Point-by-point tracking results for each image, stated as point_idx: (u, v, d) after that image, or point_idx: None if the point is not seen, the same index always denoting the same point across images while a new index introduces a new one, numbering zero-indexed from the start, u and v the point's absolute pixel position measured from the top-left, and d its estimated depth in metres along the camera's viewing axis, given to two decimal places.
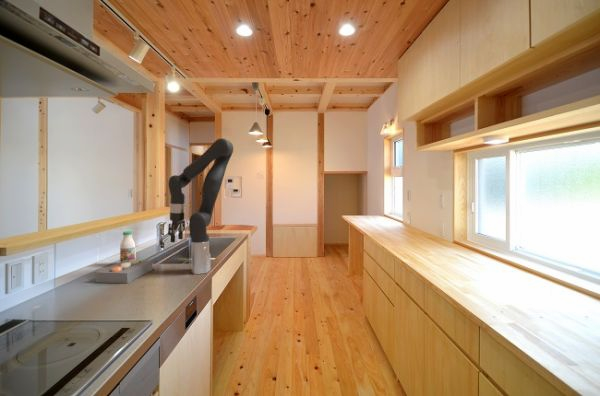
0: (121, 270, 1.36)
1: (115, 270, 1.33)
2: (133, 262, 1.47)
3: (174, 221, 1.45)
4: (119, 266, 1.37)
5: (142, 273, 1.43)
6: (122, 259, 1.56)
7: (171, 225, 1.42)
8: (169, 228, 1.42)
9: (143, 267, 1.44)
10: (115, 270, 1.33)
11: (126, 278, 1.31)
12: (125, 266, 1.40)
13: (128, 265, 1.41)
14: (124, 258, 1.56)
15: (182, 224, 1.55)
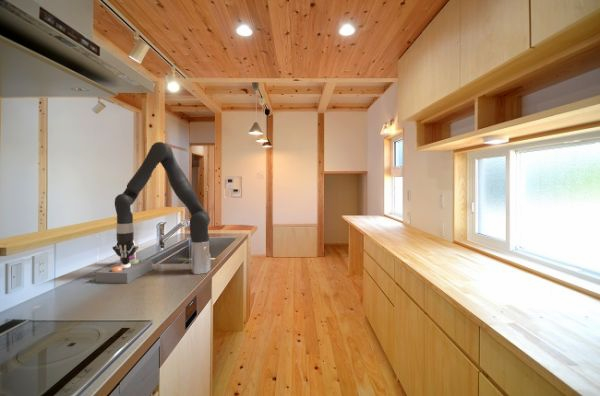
0: (121, 270, 1.36)
1: (115, 270, 1.33)
2: (133, 262, 1.47)
3: (132, 240, 1.42)
4: (119, 266, 1.37)
5: (142, 273, 1.43)
6: None
7: (136, 248, 1.42)
8: (133, 251, 1.41)
9: (143, 267, 1.44)
10: (115, 270, 1.33)
11: (126, 278, 1.31)
12: (125, 267, 1.40)
13: (128, 266, 1.41)
14: None
15: (118, 248, 1.42)
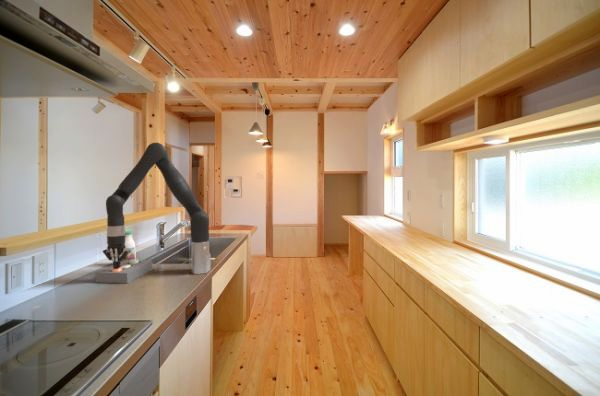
0: None
1: (115, 271, 1.33)
2: (133, 262, 1.47)
3: (124, 244, 1.35)
4: None
5: (142, 273, 1.43)
6: None
7: (128, 252, 1.35)
8: (125, 255, 1.34)
9: (143, 267, 1.44)
10: None
11: (126, 278, 1.31)
12: None
13: None
14: None
15: (109, 252, 1.36)
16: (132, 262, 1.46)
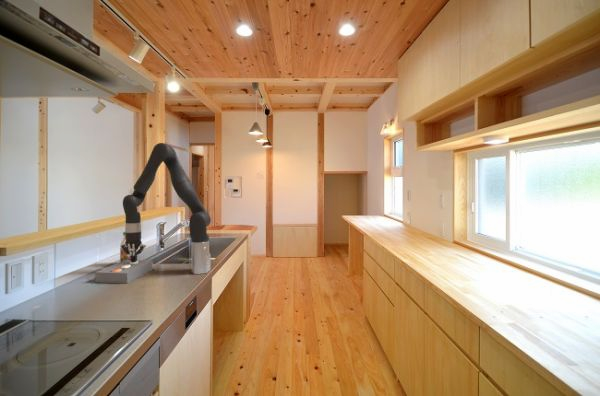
0: None
1: None
2: None
3: (140, 239, 1.48)
4: (119, 269, 1.37)
5: (142, 273, 1.43)
6: (122, 259, 1.56)
7: (144, 247, 1.48)
8: (141, 250, 1.47)
9: (143, 267, 1.44)
10: None
11: (126, 278, 1.31)
12: None
13: None
14: (124, 258, 1.56)
15: (127, 247, 1.49)
16: None
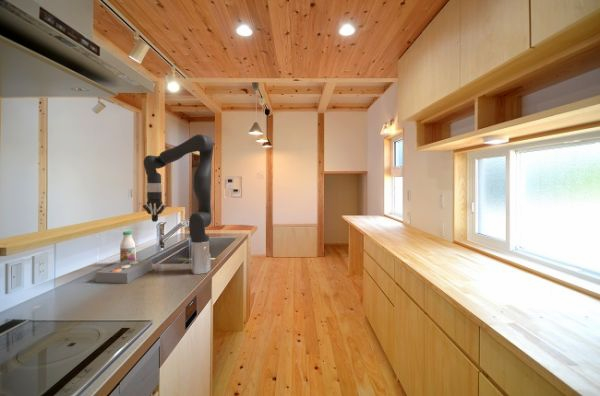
0: None
1: None
2: None
3: (161, 199, 1.53)
4: (119, 269, 1.37)
5: (142, 273, 1.43)
6: (122, 259, 1.56)
7: (165, 207, 1.54)
8: (162, 209, 1.53)
9: (143, 267, 1.44)
10: None
11: (126, 278, 1.31)
12: None
13: None
14: (124, 258, 1.56)
15: (148, 207, 1.54)
16: None
